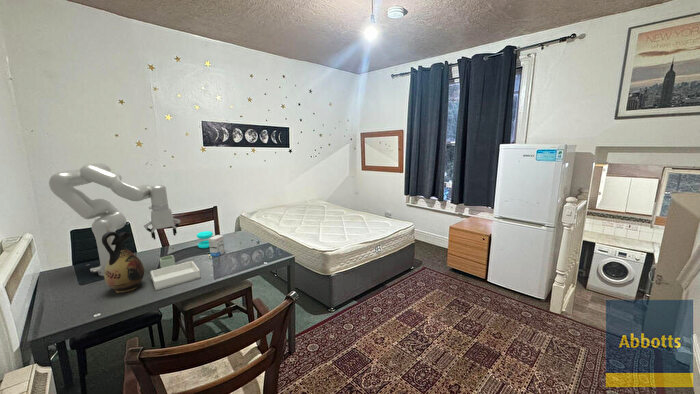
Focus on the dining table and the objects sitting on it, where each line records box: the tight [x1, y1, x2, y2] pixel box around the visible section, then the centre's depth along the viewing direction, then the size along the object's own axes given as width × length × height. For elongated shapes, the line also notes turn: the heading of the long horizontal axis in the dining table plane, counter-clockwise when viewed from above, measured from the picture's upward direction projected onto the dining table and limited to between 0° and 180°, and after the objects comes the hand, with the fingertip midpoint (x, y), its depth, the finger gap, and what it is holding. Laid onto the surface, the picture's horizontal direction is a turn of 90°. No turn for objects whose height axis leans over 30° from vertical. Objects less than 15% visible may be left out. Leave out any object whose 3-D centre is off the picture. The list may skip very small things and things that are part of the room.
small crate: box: [158, 254, 176, 269], centre depth 161 cm, size 6×6×6 cm
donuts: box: [196, 230, 214, 249], centre depth 194 cm, size 10×10×10 cm
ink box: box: [208, 234, 226, 258], centre depth 181 cm, size 9×5×12 cm, turn 168°
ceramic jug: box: [102, 231, 145, 294], centre depth 135 cm, size 17×15×30 cm
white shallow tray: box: [149, 260, 201, 291], centre depth 148 cm, size 20×16×4 cm
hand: (164, 236), depth 158 cm, fingers open, 9 cm apart
